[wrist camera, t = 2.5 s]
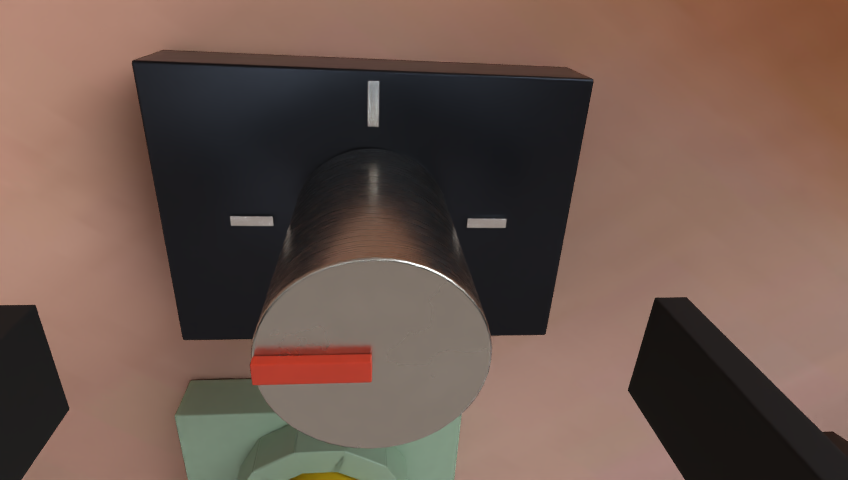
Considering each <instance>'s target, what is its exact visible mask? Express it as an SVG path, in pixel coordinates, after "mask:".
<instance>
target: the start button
mask: <svg viewBox="0 0 848 480" xmlns="http://www.w3.org/2000/svg"><path fill="white" fill-rule="evenodd" d="M289 480H358V479H355V478H353V477H350V476H347V475H344V474H341V473H338V472H326V473H303V474H300V475H298V476H296V477H294V478H291V479H289Z"/></svg>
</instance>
